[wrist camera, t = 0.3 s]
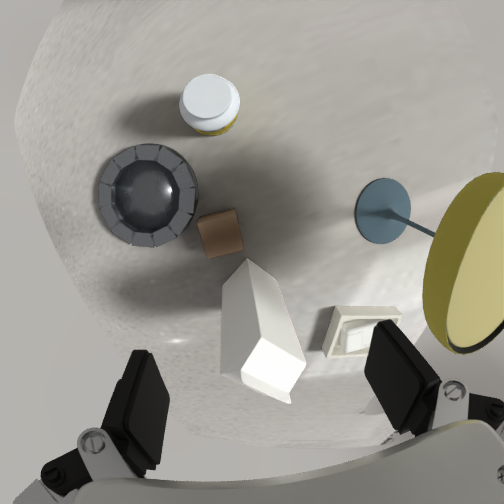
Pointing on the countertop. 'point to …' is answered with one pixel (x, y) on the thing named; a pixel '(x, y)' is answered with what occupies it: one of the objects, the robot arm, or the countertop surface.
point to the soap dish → (348, 315)
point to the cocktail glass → (451, 257)
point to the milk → (258, 334)
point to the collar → (148, 195)
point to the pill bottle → (210, 104)
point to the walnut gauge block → (220, 233)
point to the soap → (357, 334)
